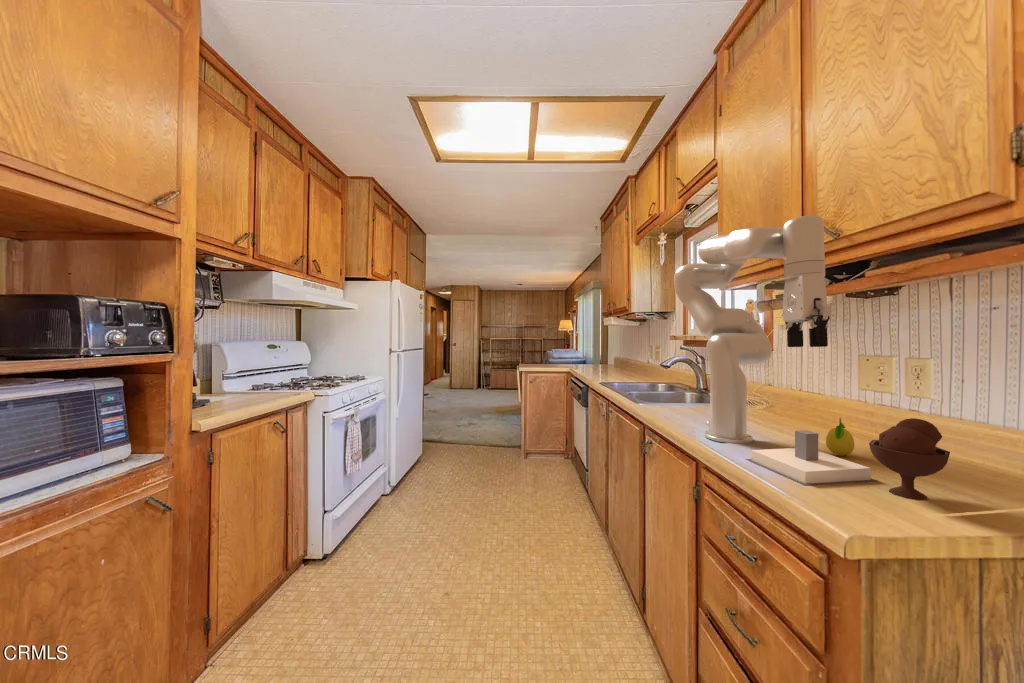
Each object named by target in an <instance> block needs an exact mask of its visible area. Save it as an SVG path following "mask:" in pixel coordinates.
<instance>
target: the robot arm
mask: <svg viewBox="0 0 1024 683" xmlns="http://www.w3.org/2000/svg"><path fill="white" fill-rule="evenodd" d="M825 256H826V255H825V224H824V219H823V218H822V217H821V216H820V215H812V214H811V215H810V214H809V215H808V214H807V215H803V216H798V217H794V218H793V217H792V219H789V220H787V221H786V222H785V223H784V225H783V226H781V227H776V226H775V227H773V226H754V227H753V226H752V227H746V228H742V229H741V228H740V229H736V230H732V231H731V232H729V233H728V234H723V235H718V236H717V235H716V236H713V237H710V238H707V239H706V240H703V242H702V243H701V244H700V245H699V247H698V257H699V258H700V260H701V261H703V262H704V263H699V262H698V263H697V262H696V263H687V264H684V265H681V266H680V267H678V268H677V269H676V271H675V272H674V275H673V287H674V291H675V294H676V296H677V298H678V299H679V301H680V302H681V303H682V304H683V306H684V307H685V308H686V309H687V311H688V313H689V314H690V316H691V318H692V319H693V322H694V323H695V325H696V326H697V329H698V330H699V331H700V332H701V334H702V336H704V337H706V338H708V341H707V342H706V345H705V346H706V347H705V349H706V356H707V359H708V360H707V361H708V367H709V385H710V386H709V390H710V391H709V393H710V395H709V402H710V403H709V404H710V406H709V407H710V409H709V413H710V419H709V420H706V422H705V424H706V426H708V427H709V428H708V430H706V431H705V432H704V437H705V438H707V439H709V440H712V441H715V442H720V443H725V444H728V443H729V444H748V443H752V442H754V441H753V440H754V439H753V438H754V437H753V435H750V434H749V433H747V432H748V431H747V430H748V429H747V428H748V427H747V426H748V425H747V424H748V423H747V421H748V420H747V418H748V417H747V414H748V413H747V409H748V408H747V407H748V406H747V404H748V403H747V402H748V401H747V400H748V398H747V397H748V395H747V393H748V392H747V387H748V386H747V379H746V375H745V373H744V371H743V370H742V368H741V367H740V366H741V365H742V366H743V365H760V364H761V365H762V364H764V363H766V362H767V361H769V360H770V358H771V357H772V353H773V347H772V343H771V341H770V339H769V337H768V335H767V334H766V333H765V331H764V330H763V328H762V327H761V326H760V324H759V323H758V322H757V320H756V319H755V317H754V316H753V315H752V314H751V313H750V312H749V311H748V310H745V309H743V308H735V307H734V308H730V307H729V308H725V307H721V306H720V305H719V304H718V303H717V301H716V299H715V298H714V297H713V296H712V294H710V293H709V292H707V291H705V289H707V290H711V289H712V290H716V289H718V290H719V289H723V288H725V287H727V286H728V285H729V284H730V283H731V282H732V280H734V278H735V277H736V275H737V274H738V273H739V272H740V270H741V269H742V268H743V266H744V265H745V264H746V263H747V261H748V259H783V277H784V278H783V281H784V287H783V295H782V296H783V297H782V320H783V321H784V324H785V326H786V327H785V329H786V344H787V347H788V348H803V347H804V330H803V329H802V328H803V325H804V323H807V322H808V323H809V326H810V328H808V332H809V333H808V337H809V339H808V340H809V347H810V348H818V347H819V348H820V347H821V348H826V347H828V345H829V342H828V328H829V326H830V325H829V320H830V314H831V310H832V306H831V305H830V304H828V296H827V295H828V294H827V288H826V287H827V286H826V280H825V277H826V258H825Z"/></svg>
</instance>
